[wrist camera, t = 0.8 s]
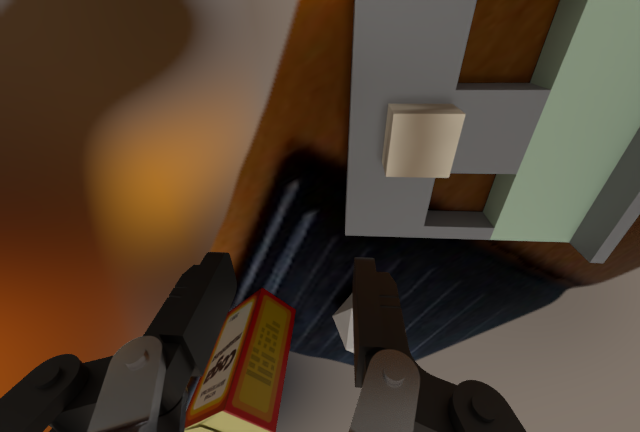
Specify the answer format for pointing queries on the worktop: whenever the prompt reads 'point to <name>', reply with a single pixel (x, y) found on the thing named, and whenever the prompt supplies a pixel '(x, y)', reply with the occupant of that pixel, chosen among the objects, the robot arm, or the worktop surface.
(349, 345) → the die
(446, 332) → the worktop surface
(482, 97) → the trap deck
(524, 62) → the worktop surface
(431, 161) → the birch block
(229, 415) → the baking soda box
